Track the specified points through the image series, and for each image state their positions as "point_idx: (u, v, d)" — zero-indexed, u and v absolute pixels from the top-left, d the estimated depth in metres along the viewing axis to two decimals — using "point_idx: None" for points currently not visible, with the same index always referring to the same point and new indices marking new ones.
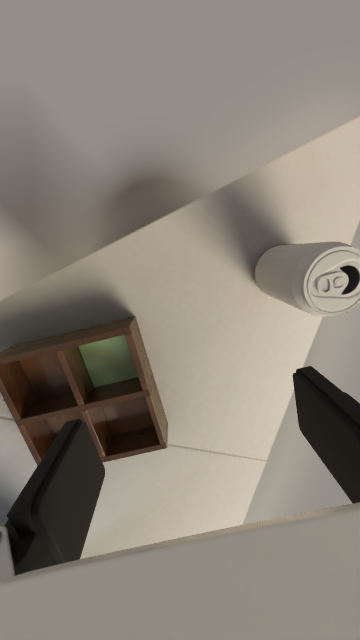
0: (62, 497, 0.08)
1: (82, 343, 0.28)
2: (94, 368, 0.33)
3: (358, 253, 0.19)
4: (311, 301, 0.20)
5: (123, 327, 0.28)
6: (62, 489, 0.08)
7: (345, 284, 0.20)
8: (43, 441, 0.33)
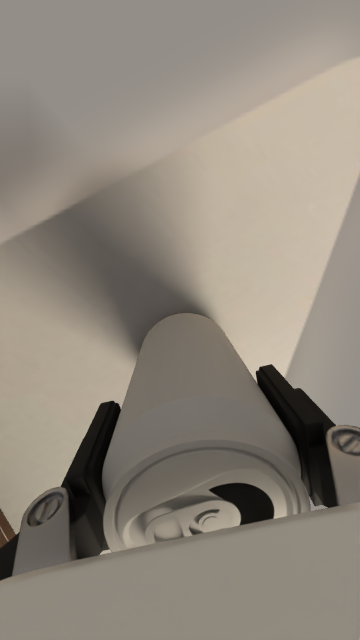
0: None
1: None
2: None
3: (261, 455, 0.06)
4: None
5: None
6: None
7: None
8: None
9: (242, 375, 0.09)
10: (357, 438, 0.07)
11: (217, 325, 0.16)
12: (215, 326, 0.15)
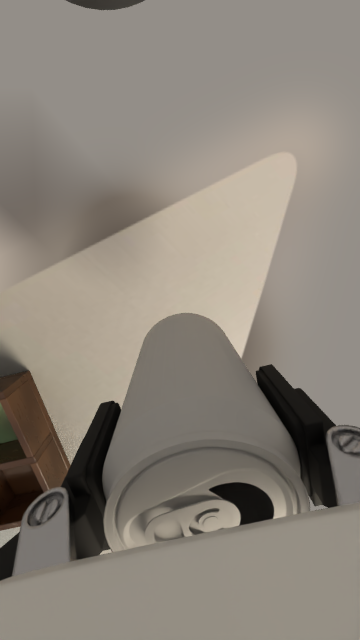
0: None
1: None
2: None
3: (261, 455, 0.06)
4: None
5: None
6: None
7: (232, 526, 0.07)
8: None
9: (242, 375, 0.09)
10: (357, 438, 0.07)
11: (217, 325, 0.16)
12: (215, 326, 0.15)
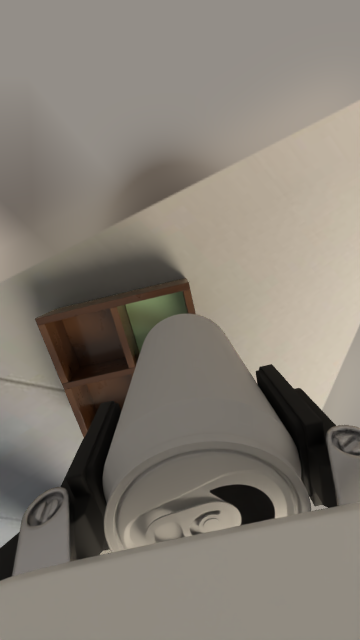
0: None
1: (138, 299, 0.26)
2: (141, 332, 0.31)
3: (262, 457, 0.06)
4: None
5: (181, 283, 0.27)
6: None
7: None
8: (87, 409, 0.32)
9: (243, 376, 0.09)
10: (357, 438, 0.07)
11: (217, 326, 0.16)
12: (215, 327, 0.15)
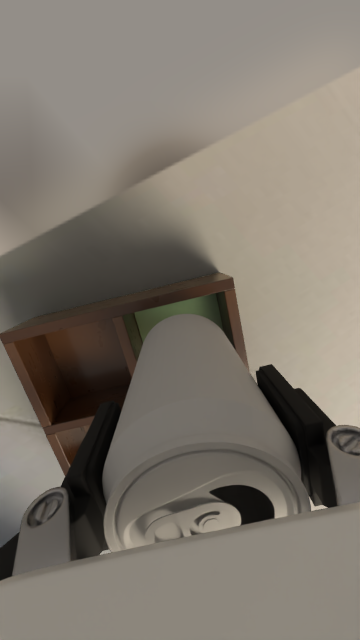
0: None
1: (155, 304, 0.17)
2: None
3: (261, 458, 0.06)
4: None
5: (221, 279, 0.17)
6: None
7: None
8: None
9: (242, 377, 0.09)
10: (357, 438, 0.07)
11: (217, 326, 0.16)
12: (215, 327, 0.15)
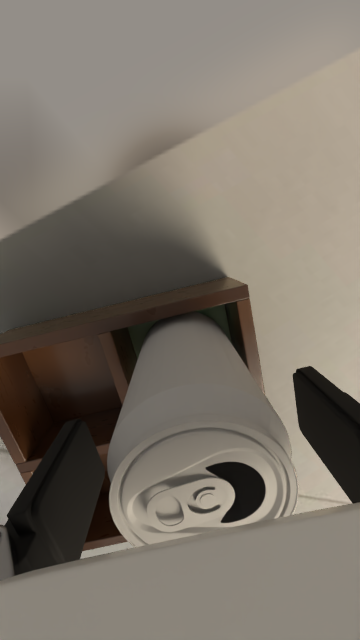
0: (62, 497, 0.08)
1: (151, 318, 0.14)
2: None
3: (253, 436, 0.07)
4: (142, 537, 0.08)
5: (232, 286, 0.14)
6: (62, 489, 0.08)
7: (227, 503, 0.07)
8: None
9: (238, 367, 0.10)
10: None
11: (216, 323, 0.17)
12: (214, 323, 0.16)
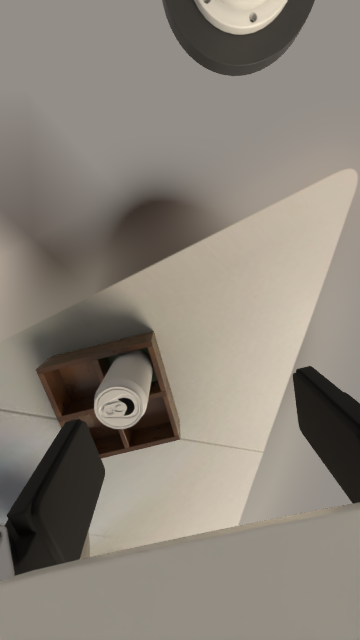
0: (62, 497, 0.08)
1: (113, 354, 0.35)
2: None
3: (128, 390, 0.28)
4: (103, 419, 0.28)
5: (146, 341, 0.35)
6: (62, 489, 0.08)
7: (124, 409, 0.28)
8: None
9: (136, 373, 0.31)
10: None
11: (145, 353, 0.38)
12: (142, 354, 0.37)
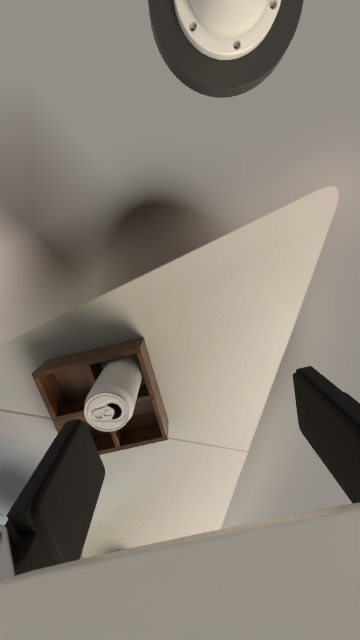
0: (62, 497, 0.08)
1: (104, 360, 0.37)
2: None
3: (115, 397, 0.30)
4: (93, 423, 0.31)
5: (135, 348, 0.37)
6: (62, 489, 0.08)
7: (112, 414, 0.30)
8: None
9: (124, 380, 0.33)
10: None
11: (135, 359, 0.40)
12: (132, 360, 0.39)
